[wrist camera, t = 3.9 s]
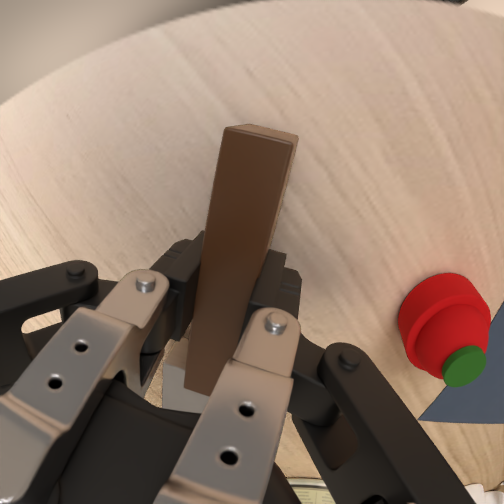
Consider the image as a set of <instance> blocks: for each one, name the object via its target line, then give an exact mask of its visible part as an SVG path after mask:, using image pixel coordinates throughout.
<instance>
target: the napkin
mask: <svg viewBox="0 0 504 504" xmlns="http://www.w3.org/2000/svg"><path fill="white" fill-rule="evenodd" d="M488 334H489V339H488V346H487V350H486V353H485V356H486V366H485V368H484V370H483V372H482V373H481V374H480V375H479V376H478V377H477V378H476V379H475V380H474V381H472V382H471V383H469V384H467V385H465V386H462V387H450V386H448V385H447V386H446V387H445V388H444V389H443V391H442V392H441V393H440V394H439V396H438V397H437V398H436V399H435V400H434V401H433V403H432V404H431V405H430V406H429V407H428V408H427V409H426V411H425V412H424V413H423V414H422V415H421V416H420V417H419V418H418V420H422V421H434V422H450V423H477V424H503V423H504V302H503V303H502V305H501V307H500V309H499V310H498V312H497V314H496V315H495V317H494V319H493V320H492V322H491V324H490V329H489V332H488Z"/></svg>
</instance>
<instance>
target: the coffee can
mask: <svg viewBox="0 0 504 504" xmlns="http://www.w3.org/2000/svg"><path fill="white" fill-rule="evenodd" d="M286 479H287V480H288V482H289V484H290V485H291V487H292V488H293V490H294V492H295V493H296V495H297V496H298V498H299V500H300V501H301V503H302V504H336V503H335V502H334V500H333V498H332V496H331V494H330V492H329V490H328V489H327V487H326V485H325V483H324V481H323V480H320V479H306V478H286Z"/></svg>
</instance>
